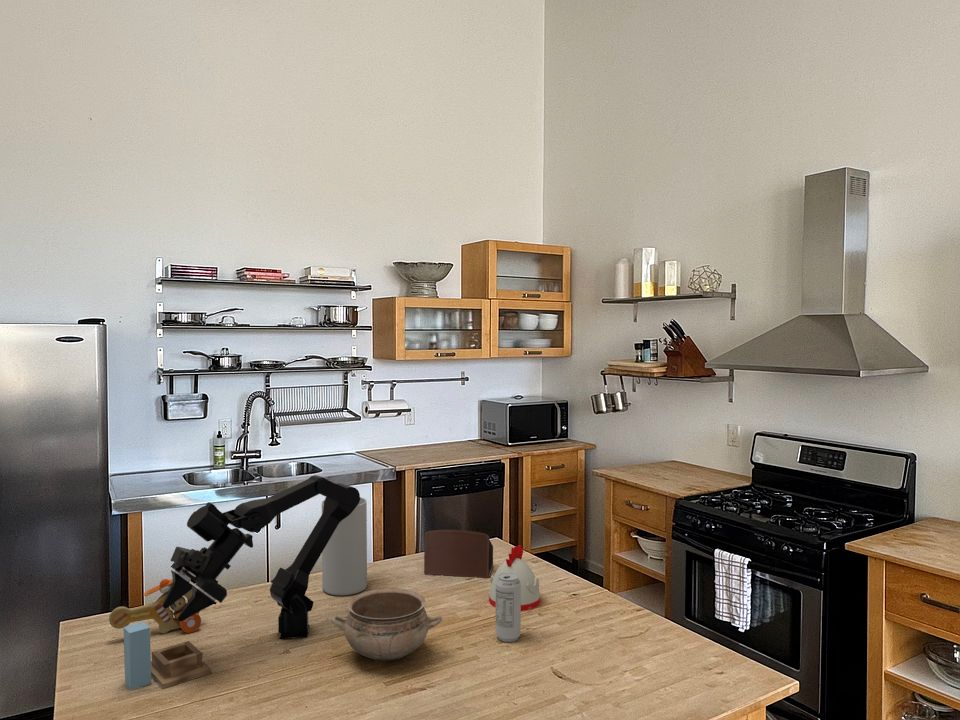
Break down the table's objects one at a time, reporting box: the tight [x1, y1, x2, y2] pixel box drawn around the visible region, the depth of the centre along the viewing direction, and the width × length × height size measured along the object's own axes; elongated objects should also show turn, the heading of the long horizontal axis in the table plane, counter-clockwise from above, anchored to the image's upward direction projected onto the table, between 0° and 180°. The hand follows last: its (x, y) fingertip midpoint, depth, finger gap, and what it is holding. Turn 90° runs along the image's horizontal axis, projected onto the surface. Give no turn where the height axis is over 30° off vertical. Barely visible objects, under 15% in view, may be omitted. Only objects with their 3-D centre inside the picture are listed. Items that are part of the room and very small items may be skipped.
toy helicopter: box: [108, 578, 202, 634], centre depth 173 cm, size 8×21×14 cm, turn 123°
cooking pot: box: [331, 588, 443, 663], centre depth 162 cm, size 25×19×12 cm
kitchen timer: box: [488, 544, 541, 612], centre depth 194 cm, size 14×14×15 cm
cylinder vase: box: [321, 496, 368, 597], centre depth 203 cm, size 12×12×25 cm
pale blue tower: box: [123, 621, 152, 691], centre depth 150 cm, size 4×4×12 cm
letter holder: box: [423, 529, 494, 579], centre depth 218 cm, size 10×20×14 cm, turn 81°
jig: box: [151, 640, 212, 690], centre depth 155 cm, size 10×12×4 cm
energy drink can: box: [495, 573, 522, 643], centre depth 172 cm, size 6×6×15 cm
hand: (171, 613), depth 154 cm, fingers open, 9 cm apart
